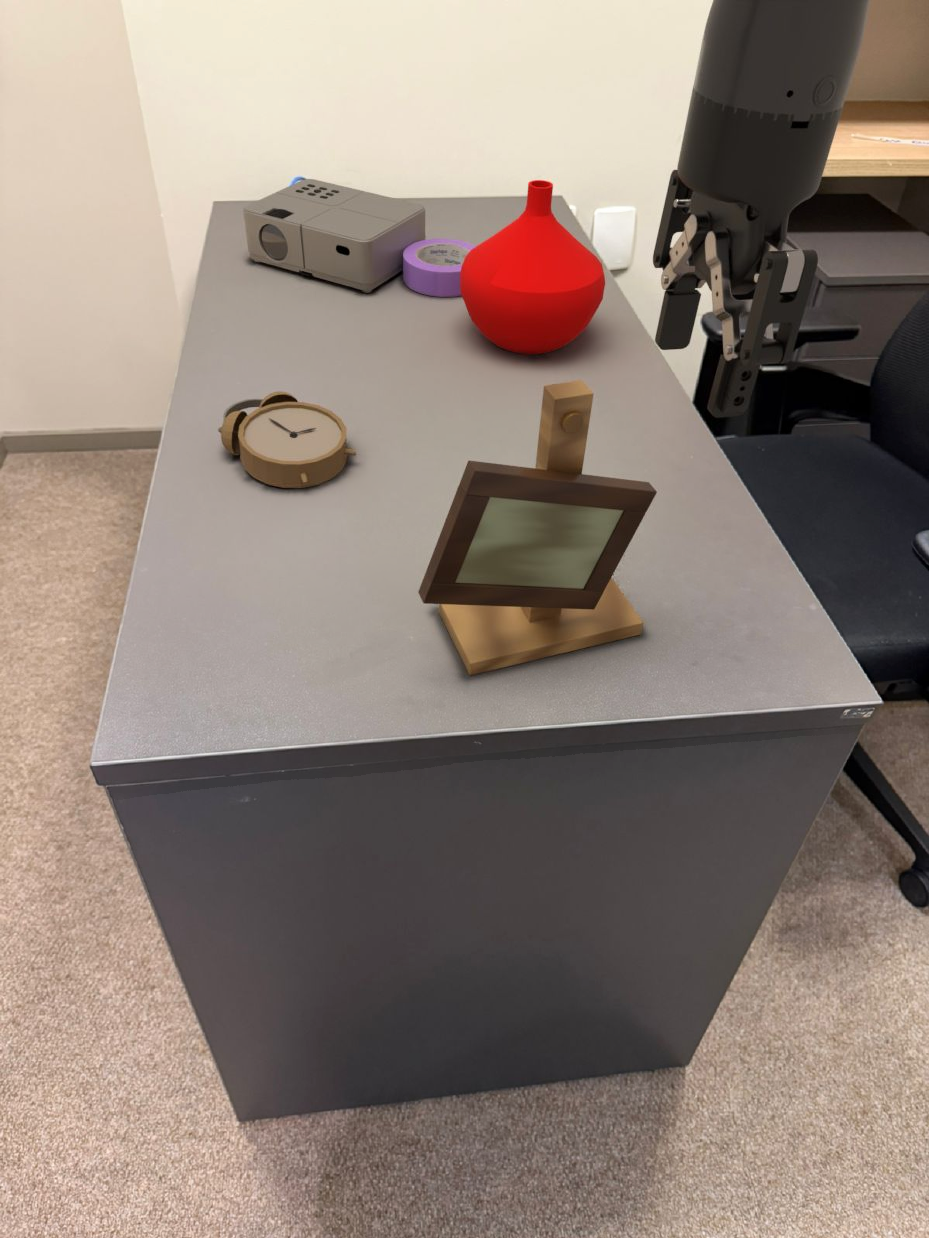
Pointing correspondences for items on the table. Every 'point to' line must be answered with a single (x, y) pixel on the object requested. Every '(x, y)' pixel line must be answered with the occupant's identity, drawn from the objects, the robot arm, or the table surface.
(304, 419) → the alarm clock
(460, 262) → the tape roll
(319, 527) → the table surface
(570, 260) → the vase
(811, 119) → the robot arm
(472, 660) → the stand
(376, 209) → the projector
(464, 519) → the frame
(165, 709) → the table surface
